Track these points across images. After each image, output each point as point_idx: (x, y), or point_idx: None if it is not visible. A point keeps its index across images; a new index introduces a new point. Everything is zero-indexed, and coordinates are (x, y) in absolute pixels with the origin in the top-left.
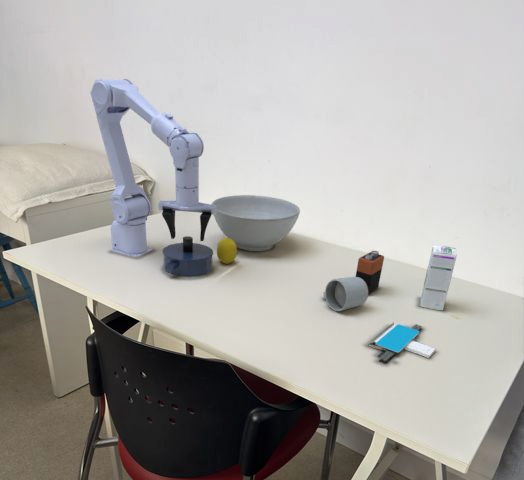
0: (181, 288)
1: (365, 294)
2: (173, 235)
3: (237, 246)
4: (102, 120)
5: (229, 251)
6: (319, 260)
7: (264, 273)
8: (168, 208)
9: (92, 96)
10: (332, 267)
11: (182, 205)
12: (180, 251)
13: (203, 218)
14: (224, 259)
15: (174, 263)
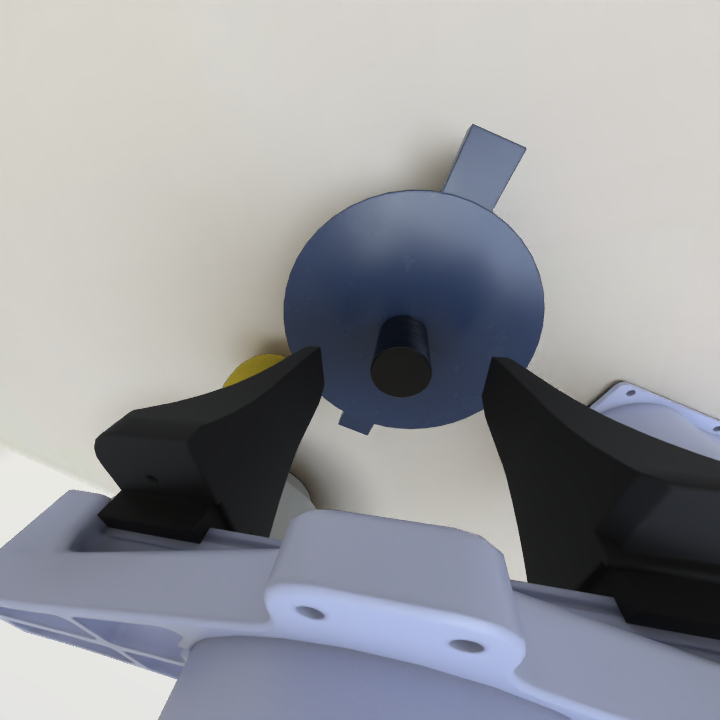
0: (406, 46)
1: None
2: (500, 364)
3: (293, 478)
4: None
5: (238, 371)
6: (90, 420)
7: (158, 318)
8: (691, 638)
9: None
10: (41, 385)
11: (465, 717)
12: (440, 324)
13: (169, 420)
14: (271, 354)
15: (464, 189)
